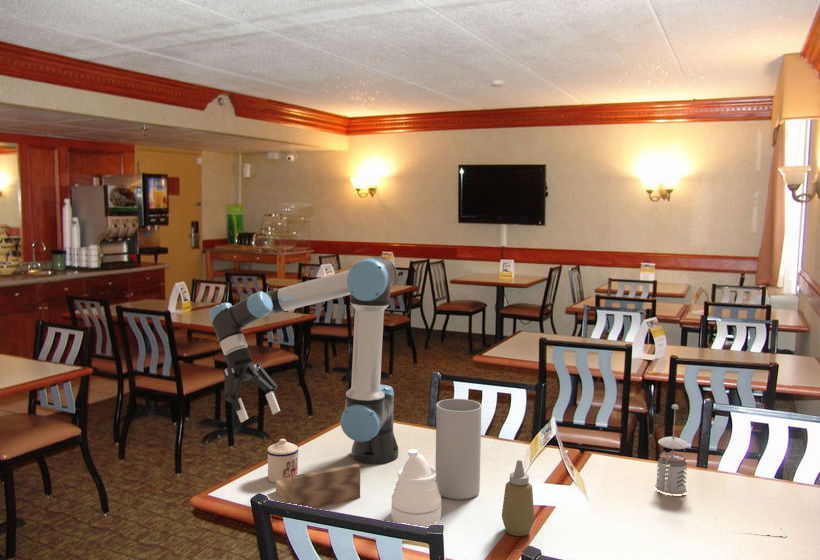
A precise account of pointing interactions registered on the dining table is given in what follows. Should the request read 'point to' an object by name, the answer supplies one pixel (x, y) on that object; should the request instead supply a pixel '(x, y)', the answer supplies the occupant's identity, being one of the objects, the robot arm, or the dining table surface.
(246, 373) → the robot arm
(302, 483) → the cleat board
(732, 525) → the dining table surface
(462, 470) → the cylinder vase
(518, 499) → the squeeze bottle
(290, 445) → the teacup with lid
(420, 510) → the honey pot
